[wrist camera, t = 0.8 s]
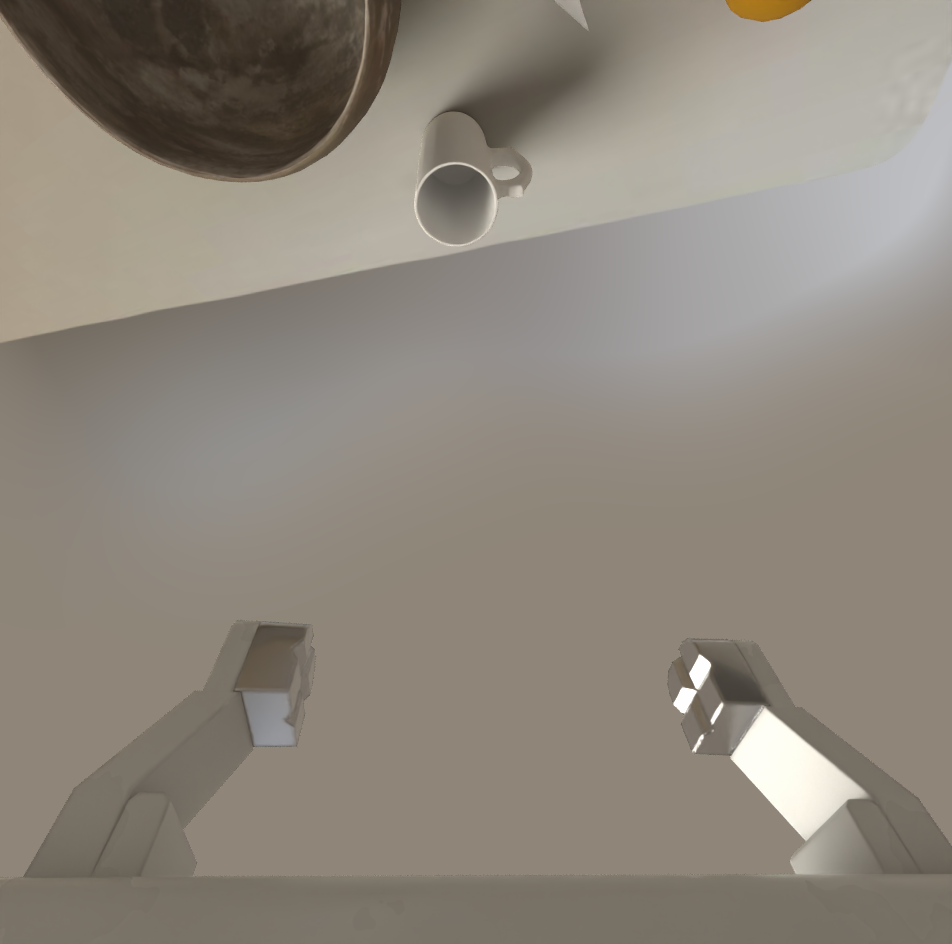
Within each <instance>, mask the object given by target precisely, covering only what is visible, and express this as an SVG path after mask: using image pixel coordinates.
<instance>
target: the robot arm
mask: <svg viewBox="0 0 952 944" xmlns="http://www.w3.org/2000/svg"><path fill="white" fill-rule="evenodd" d="M312 639H313V628H312V625H310V624H296V623H279V622H266V621H245V620H237V621H236V622H235V623H234V624H233V625H232V626H231V628H230V631H229V633H228V635H227V637H226V640H225V642H224V644H223V646H222V648H221V651H220V653H219V655H218V657H217V660H216V662H215V664H214V667H213V669H212V671H211V673H210V676H209V678H208V680H207V682H206V685H205V687H204V689H203V691H194V692H193V693H192V694H190V695H189V696H188V697H187V698H185V699H184V700H183V701H182V702H181V703H179V704H178V705H177V706H175V707H174V708H173V709H172V710H171V711H169V712H168V713H167V714H166V715H164V716H163V717H162V718H161V719H159V720H158V721H157V722H156V723H155V724H153V725H152V726H151V727H150V728H148V729H147V730H146V731H145V732H143V733H142V734H141V735H140V736H138V737H137V738H136V739H135V740H133V741H132V742H131V743H130V744H128V745H127V746H126V747H125V748H123V749H122V750H121V751H120V752H119V753H117V754H116V755H115V756H114V757H112V758H111V759H110V760H109V761H107V762H106V763H105V764H104V765H102V766H101V767H100V768H99V769H97V770H96V771H95V772H94V773H93V774H91V775H90V776H89V777H88V778H86V779H85V780H84V781H83V782H81V783H80V784H79V785H78V786H77V787H75V788H74V790H73V791H72V793H71V795H70V796H69V798H68V800H67V802H66V804H65V805H64V807H63V809H62V810H61V812H60V814H59V816H58V817H57V819H56V821H55V823H54V824H53V826H52V828H51V829H50V831H49V833H48V835H47V836H46V838H45V840H44V842H43V843H42V845H41V847H40V849H39V850H38V852H37V854H36V856H35V857H34V859H33V861H32V862H31V864H30V866H29V868H28V869H27V871H26V873H25V875H24V876H23V877H0V944H952V846H951V845H950V843H949V842H948V840H947V839H946V837H945V836H944V834H943V833H942V831H941V830H940V829H939V827H938V826H937V824H936V823H935V822H934V820H933V819H932V817H931V816H930V814H929V813H928V811H927V810H926V808H925V807H924V806H923V804H922V803H921V801H920V800H919V798H917V797H916V796H915V795H914V794H912V793H911V792H910V791H908V790H907V789H906V788H904V787H903V786H902V785H901V784H899V783H898V782H897V781H896V780H894V779H893V778H892V777H890V776H889V775H888V774H887V773H885V772H884V771H883V770H881V769H880V768H879V767H878V766H876V765H875V764H874V763H872V762H871V761H870V760H869V759H867V758H866V757H865V756H864V755H862V754H861V753H859V752H858V751H857V750H856V749H855V748H853V747H852V746H851V745H849V744H848V743H847V742H846V741H844V740H843V739H842V738H840V737H839V736H838V735H837V734H835V733H834V732H833V731H832V730H830V729H829V728H828V727H826V726H825V725H824V724H822V723H821V722H820V721H819V720H817V719H816V718H815V717H813V716H812V715H811V714H810V713H808V712H807V711H806V710H805V709H803V708H801V707H795V705H794V704H793V702H792V701H791V699H790V697H789V696H788V694H787V692H786V691H785V689H784V687H783V685H782V684H781V682H780V681H779V679H778V677H777V676H776V674H775V672H774V671H773V669H772V667H771V666H770V664H769V662H768V661H767V659H766V657H765V656H764V654H763V652H762V651H761V649H760V647H759V646H758V645H757V644H756V643H755V642H754V641H742V640H727V639H725V640H724V639H689V638H688V639H686V640H685V641H683V642H682V644H681V645H680V648H679V651H680V653H681V657H679V658H678V659H676V660H675V661H673V662H672V664H671V666H670V669H669V671H668V688H669V694H670V696H671V699H672V702H673V704H674V706H675V707H677V708H678V709H679V710H680V711H681V712H682V713H683V714H684V716H683V719H682V723H681V725H682V728H683V730H684V733H685V736H686V738H687V741H688V743H689V746H690V748H691V751H692V753H693V754H709V755H730V756H731V757H730V758H731V759H732V760H733V761H734V762H735V764H736V765H737V766H738V767H739V768H740V769H741V770H742V771H743V772H744V773H745V775H746V776H747V777H748V778H749V779H750V780H751V781H752V782H753V783H754V785H755V786H756V787H757V788H758V789H759V790H760V791H761V792H762V793H763V794H764V795H765V797H766V798H767V799H768V800H769V801H770V802H771V803H772V804H773V805H774V807H775V808H776V809H777V810H778V811H779V812H780V813H781V814H782V815H783V816H784V817H785V819H786V820H787V821H788V822H789V823H790V824H791V825H792V826H793V827H794V829H796V831H797V832H798V833H799V834H800V835H801V836H802V837H803V838H804V840H805V841H806V842H805V843H804V844H803V845H802V846H801V847H800V848H799V849H798V850H797V851H796V852H795V853H794V854H793V855H792V858H791V860H790V863H791V865H792V867H793V870H794V872H795V874H761V875H760V874H746V875H745V874H742V875H741V874H740V875H739V874H732V875H731V874H728V875H455V876H453V875H447V876H445V875H444V876H440V875H436V876H198V877H197V876H195V877H193V873H194V871H195V867H196V865H197V862H196V859H195V857H194V854H193V852H192V850H191V847H190V845H189V843H188V840H187V838H186V836H185V833H184V831H183V829H184V828H185V827H186V826H187V825H188V823H189V822H190V821H191V820H192V819H193V818H194V817H195V816H196V814H197V813H198V812H199V811H200V810H201V809H202V808H203V806H204V805H205V804H206V803H207V802H208V801H209V800H210V798H211V797H212V796H213V795H214V794H215V793H216V791H217V790H218V789H219V788H220V787H221V786H222V785H223V784H224V782H225V781H226V780H227V779H228V778H229V777H230V776H231V775H232V773H233V772H234V771H235V770H236V769H237V768H238V767H239V765H240V764H241V763H242V762H243V761H244V760H245V758H246V757H247V756H248V755H249V754H250V753H251V752H252V751H253V747H281V746H282V747H285V746H286V747H292V746H297V744H298V741H299V736H300V733H301V729H302V725H303V721H304V717H305V710H304V700H305V699H306V698H307V697H308V696H309V695H310V693H311V689H312V684H313V679H314V672H315V649H314V648H313V647H312V646H311V643H312Z"/></svg>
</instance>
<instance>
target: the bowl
mask: <svg viewBox="0 0 952 944" xmlns="http://www.w3.org/2000/svg"><path fill="white" fill-rule="evenodd" d="M400 10H401V0H0V18H1V19H2V21H3V22H4V23H5V25H6V26H7V28H8V29H9V31H10V32H11V34H12V35H13V36H14V38H15V39H16V40H17V42H18V43H19V44H20V46H21V47H22V49H23V50H24V51H25V53H26V54H27V55H28V57H29V58H30V59H31V60H32V61H33V63H34V64H35V65H36V66H37V67H38V68H39V69H40V71H41V72H42V73H43V74H44V75H45V76H46V78H47V79H48V80H49V81H50V82H51V83H52V84H53V85H54V86H55V87H56V88H57V89H58V90H59V91H60V92H61V93H62V94H63V95H64V96H65V97H66V98H67V99H68V100H70V101H71V102H72V103H73V104H74V105H75V106H76V107H77V108H78V109H79V110H80V111H81V112H83V113H84V114H85V115H86V116H87V117H88V118H90V119H91V120H92V121H93V122H94V123H95V124H97V125H98V126H99V127H100V128H101V129H103V130H104V131H105V132H107V133H108V134H109V135H111V136H112V137H114V138H115V139H116V140H118V141H119V142H121V143H122V144H124V145H125V146H127V147H129V148H130V149H132V150H133V151H135V152H136V153H138V154H140V155H142V156H144V157H146V158H148V159H150V160H152V161H154V162H156V163H158V164H160V165H163V166H166V167H169V168H172V169H175V170H178V171H181V172H184V173H187V174H189V175H192V176H197V177H202V178H207V179H213V180H220V181H228V182H259V181H265V180H272V179H276V178H280V177H284V176H287V175H290V174H293V173H296V172H298V171H301V170H303V169H305V168H306V167H308V166H310V165H311V164H313V163H315V162H316V161H318V160H320V159H321V158H323V157H325V156H327V155H328V154H329V153H330V152H331V151H333V150H334V149H335V148H336V147H337V146H338V145H340V144H341V143H342V142H343V140H344V139H345V138H346V137H347V136H348V135H349V134H350V133H351V132H352V130H353V129H354V128H355V127H356V126H357V124H358V123H359V122H360V121H361V119H362V118H363V117H364V116H365V114H366V113H367V112H368V110H369V108H370V106H371V105H372V103H373V101H374V99H375V98H376V96H377V94H378V92H379V90H380V88H381V86H382V84H383V82H384V79H385V76H386V73H387V70H388V67H389V64H390V60H391V56H392V52H393V48H394V44H395V40H396V36H397V32H398V25H399V18H400Z"/></svg>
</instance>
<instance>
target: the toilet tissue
mask: <svg viewBox="0 0 952 944" xmlns="http://www.w3.org/2000/svg"><path fill="white" fill-rule="evenodd" d="M554 1H555V2H556V3H557V4H558V5H559V6H560V7H562V8H563V9H564V10H565V11H566V12H567V13H568V14H569V15H571V16H572V17H573V18H574V19H575V20H576V21H577V22H579V23H580V24H581V25H582V26H583V27H584V28H585V29H587V30H588V31H589V29H588V26H587V23H586V20H585V17H584V13H583V10H582V7H581V4H580V1H579V0H554Z"/></svg>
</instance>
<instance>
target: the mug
mask: <svg viewBox="0 0 952 944" xmlns="http://www.w3.org/2000/svg"><path fill="white" fill-rule="evenodd" d="M499 166H508V167H513V168H515V169H517V170H518V171H519V172H520V174H519V175H518V176H517V177H515V178H513V179H510V180H497V179H495V178H494V176H493V174H492V168H494V167H499ZM531 178H532V168H531V165H530V164H529V162H528V161H527V160H526V159H525V158H524V157H523V156H521V155H520V154H519V153H518V152H516V151H515V150H514V149H512V148H511V147H504V148H489V147H488V146H487V144H486V139H485V136H484V133H483V131H482V129H481V127H480V126H479V125H478V123H477V122H476V121H475V120H474V119H473V118H471V117H470V116H468V115H466V114H464V113H461V112H446V113H443V114H440V115H439V116H437V117H435V118H434V119H433V120H432V121H431V122H430V123H429V125H428V126H427V128H426V129H425V131H424V134H423V137H422V142H421V148H420V155H419V165H418V174H417V182H416V191H415V200H414V209H415V214H416V217H417V220H418V222H419V224H420V226H421V227H422V229H423V230H424V231H425V232H426V233H427V234H428V235H429V236H430V237H431V238H432V239H434V240H435V241H437V242H439V243H442V244H445V245H449V246H465V245H468V244H471V243H474V242H476V241H478V240H479V239H481V238H482V237H483V236H484V235H485V234H486V233H487V232H488V231H489V230H490V228H491V227H492V225H493V223H494V221H495V219H496V216H497V212H498V199H499V198H501V197H506V196H508V197H511V198H515V197H522V196H523V194H524V190H525V189H526V187H527V186H528V184H529V183H530V181H531Z"/></svg>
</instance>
